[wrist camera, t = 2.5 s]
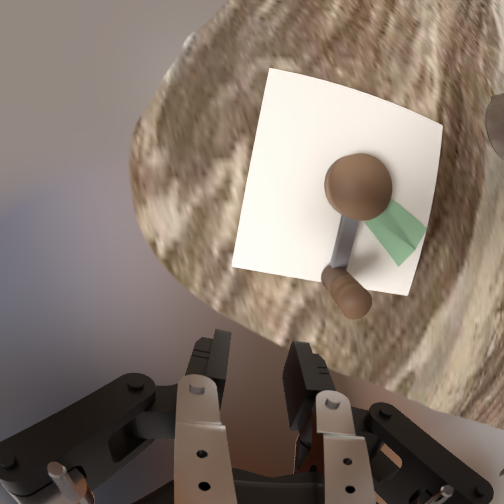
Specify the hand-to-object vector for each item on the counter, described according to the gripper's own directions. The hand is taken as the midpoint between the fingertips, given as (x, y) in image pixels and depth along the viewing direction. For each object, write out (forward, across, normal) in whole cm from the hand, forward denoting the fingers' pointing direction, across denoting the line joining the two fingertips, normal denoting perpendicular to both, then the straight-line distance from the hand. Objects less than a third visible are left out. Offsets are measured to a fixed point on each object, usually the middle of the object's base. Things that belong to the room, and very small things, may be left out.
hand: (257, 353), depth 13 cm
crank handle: (+16, -8, -5) cm, 18 cm away
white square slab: (+19, -8, -9) cm, 23 cm away
